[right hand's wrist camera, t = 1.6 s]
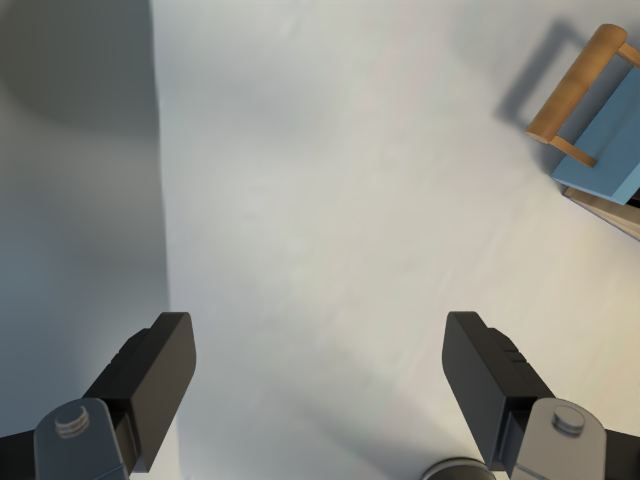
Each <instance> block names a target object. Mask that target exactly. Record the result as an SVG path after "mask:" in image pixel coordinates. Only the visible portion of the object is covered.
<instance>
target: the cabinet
mask: <svg viewBox="0 0 640 480" xmlns="http://www.w3.org/2000/svg"><path fill="white" fill-rule="evenodd" d="M562 195H563V196H564V197H566V198H568V199H569V200H571V201H573V202H574V203H576V204H578V205H579V206H581V207H583V208H584V209H586V210H588V211H589V212H591V213H593V214H594V215H596V216H598V217H599V218H601V219H603V220H604V221H606V222H608V223H609V224H611V225H613V226H614V227H616V228H618V229H619V230H621V231H623V232H624V233H626V234H628V235H629V236H631V237H633V238H634V239H636V240H638V241H639V242H640V208H637V207H634V206H631V205H628V204H625V205H621V204H618V203H615V202H612V201H610V200H607V199H604V198H601V197H598V196H595V195H593V194H590V193H587V192H584V191H581V190H578V189H575V188H573V187H570V186H569V187H568V189H567V190H566V191H565V192H564V194H562Z"/></svg>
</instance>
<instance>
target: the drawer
mask: <svg viewBox="0 0 640 480" xmlns="http://www.w3.org/2000/svg"><path fill="white" fill-rule="evenodd" d="M626 38H627V32H626V31H625V30H624V29H622V28H621V27H619V26H616V25H612V24H603V25H601V26H599V28H598V29H597V30H596V32H595V33H594V35H593V36H592V38H591V39H590V40H589V42H588V43H587V45H586V46H585V47H584V49H583V50H582V52H581V53H580V55H579V56H578V57H577V59H576V60H575V62H574V63H573V64H572V66H571V67H570V69H569V70H568V71H567V73H566V74H565V76H564V77H563V79H562V80H561V81H560V83H559V84H558V86H557V87H556V88H555V90H554V91H553V93H552V94H551V96H550V97H549V98H548V100H547V101H546V103H545V104H544V105H543V107H542V108H541V110H540V111H539V113H538V114H537V115H536V117H535V118H534V120H533V121H532V122H531V124H530V125H529V127H528V128H527V130H526V131H525V133H526V134H527V135H528V136H530V137H531V138H533V139H535V140H537V141H539V142H542V143H545V144H548V143H550V144H551V145H553V146H555V147H556V148H558V149H559V150H561V151H563V152H564V153H566V154H567V155H566V156H565V157H564V159H563V160H562V161H561V162H560V164H559V165H558V166H557V168H556V169H555V170H554V172H553V173H552V174H551V176H550V177H551V178H553V179H554V180H556V181H558V182H559V183H561V184H564V185H567V186H570V187H573V188H575V189H578V190H581V191H584V192H587V193H590V194H593V195H595V196H598V197H601V198H604V199H607V200H610V201H612V202H615V203H618V204H621V205H625V204H628V205H631V206H634V207H637V208H640V52H639V51H637V50H636V49H635V48H633V47H632V46H630V45H629V44H628V43H626V42H624V41H625V39H626ZM615 53H616V54H617V55H619V56H620V57H622V58H623V59H624V60H626V61H627V62H629V63H630V64H631V65H633V68H632V69H631V70H630V72H629V73H628V74H627V76H626V77H625V78H624V80H623V81H622V82H621V84H620V85H619V86H618V88H617V89H616V90H615V91H614V93H613V94H612V95H611V97H610V98H609V99H608V101H607V102H606V103H605V105H604V106H603V107H602V109H601V110H600V111H599V112H598V114H597V115H596V116H595V118H594V119H593V120H592V122H591V123H590V124H589V126H588V127H587V128H586V130H585V131H584V132H583V134H582V135H581V136H580V137H579V139H578V140H577V141H576V143H575V144H574V145H572V144H570V143H569V142H567V141H566V140H564V139H563V138H561V137H559V136H558V135H556V133H557V132H558V130H559V129H560V128H561V126H562V125H563V124H564V122H565V121H566V119H567V118H568V117H569V115H570V114H571V113H572V111H573V110H574V109H575V107H576V106H577V105H578V103H579V102H580V100H581V99H582V98H583V96H584V95H585V94H586V92H587V91H588V90H589V88H590V87H591V86H592V84H593V83H594V81H595V80H596V79H597V77H598V76H599V75H600V73H601V72H602V71H603V69H604V68H605V67H606V65H607V64H608V62H609V61H610V60H611V58H612V57H613V56H614V54H615Z"/></svg>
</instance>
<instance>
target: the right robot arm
mask: <svg viewBox="0 0 640 480" xmlns="http://www.w3.org/2000/svg"><path fill="white" fill-rule="evenodd" d="M442 365H443V370H444V373H445V376H446V378H447V380H448V382H449V384H450V387H451V389H452V391H453V393H454V396H455V398H456V400H457V402H458V404H459V407H460V409H461V411H462V413H463V415H464V418H465V420H466V422H467V424H468V426H469V429H470V431H471V433H472V435H473V438H474V440H475V442H476V444H477V446H478V449H479V451H480V453H481V455H482V457H483V460H484V462H485V464H486V465H484V464H482V463H480V462H477V461H474V460H468V459H455V460H449V461H445V462H442V463H440V464H438V465H436V466H434V467H432V468H431V469H429V470H428V471H427V472H426V473H425V474H424V475H423V476H422V478H421V479H420V480H496V478H495V476H494V474H493V472H492V471H506V473H507V475H508V477H509V479H510V480H640V437H637V436H633V435H628V434H624V433H620V432H616V431H612V430H607V429H604V427H603V426H602V424H601V423H600V422H599V420H598V419H597V418H596V417H595V416H594V415H592V414H591V413H590V412H588V411H587V410H585V409H584V408H582V407H580V406H578V405H577V404H574V403H572V402H569V401H566V400H563V399H559V398H556V397H555V396H554V394H553V393H552V392H551V391H550V389H549V388H548V387H547V385H546V384H545V383H544V382H543V380H542V379H541V378H540V377H539V375H538V374H537V373H536V372H535V370H534V369H533V368H532V366H531V365H530V364H529V363H527V360H526V359H525V358H524V356H523V355H522V354H521V353H519V350H518V349H517V347H516V346H515V345H514V344H513V342H512V341H511V340H510V339H509V338H508V337H507V336H505V335H504V334H502V333H501V332H500V331H498V330H497V329H495V328H488V327H487V326H486V325H485V323H484V322H483V321H482V319H481V318H480V316H479V315H478V314H477V313H476V312H474V311H451V312H449V313H448V316H447V321H446V328H445V335H444V343H443V350H442ZM195 366H196V349H195V342H194V335H193V328H192V321H191V316H190V314H189V313H188V312H163V313H161V314H160V316H159V317H158V318H157V320H156V321H155V322H154V324H153V325H152V326H151V328H144V329H142V330H141V331H139V332H138V333H136V334H135V335H133V336H132V337H131V338H129V339H128V340H127V342H126V343H125V344H124V345H123V346H122V348H121V349H120V350H119V353H117V354H116V355H115V356H114V358H113V359H112V360H111V363H110V364H108V365H107V367H106V368H105V369H104V370H103V372H102V373H101V374H100V375H99V377H98V378H97V379H96V380H95V382H94V383H93V384H92V385H91V387H90V388H89V389H88V390H87V392H86V393H85V394H84V395H83V397H82V398H81V399H77V400H74V401H71V402H68V403H66V404H63V405H62V406H60V407H58V408H56V409H55V410H53V411H52V412H50V413H49V414H48V415H46V416H45V417H44V418H43V419H42V420H41V422H40V423H39V424H38V426H37V427H36V429H34V430H31V431H27V432H23V433H19V434H14V435H10V436H6V437H2V438H0V480H130V479H129V476H130V474H131V473H148V472H149V471H150V468H151V466H152V464H153V462H154V460H155V457H156V455H157V453H158V451H159V449H160V446H161V444H162V442H163V440H164V438H165V436H166V433H167V431H168V429H169V427H170V425H171V422H172V420H173V418H174V416H175V414H176V412H177V409H178V407H179V405H180V403H181V401H182V398H183V396H184V394H185V392H186V390H187V388H188V385H189V383H190V381H191V379H192V377H193V374H194V371H195Z"/></svg>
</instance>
